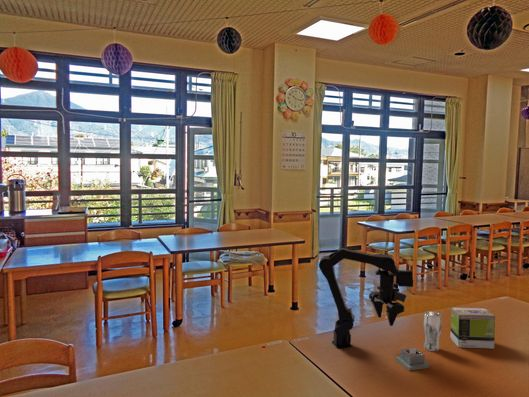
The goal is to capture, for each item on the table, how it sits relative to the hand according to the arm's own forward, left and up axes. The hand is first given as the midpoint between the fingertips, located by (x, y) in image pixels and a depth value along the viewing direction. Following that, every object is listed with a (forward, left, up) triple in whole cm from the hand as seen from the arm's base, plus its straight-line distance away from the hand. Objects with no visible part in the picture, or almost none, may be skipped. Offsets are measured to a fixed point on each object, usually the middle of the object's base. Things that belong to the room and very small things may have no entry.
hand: (385, 321), depth 173 cm
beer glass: (+20, -4, -12) cm, 24 cm away
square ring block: (+4, -14, -11) cm, 18 cm away
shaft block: (+4, -14, -12) cm, 19 cm away
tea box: (+40, -4, -12) cm, 42 cm away
